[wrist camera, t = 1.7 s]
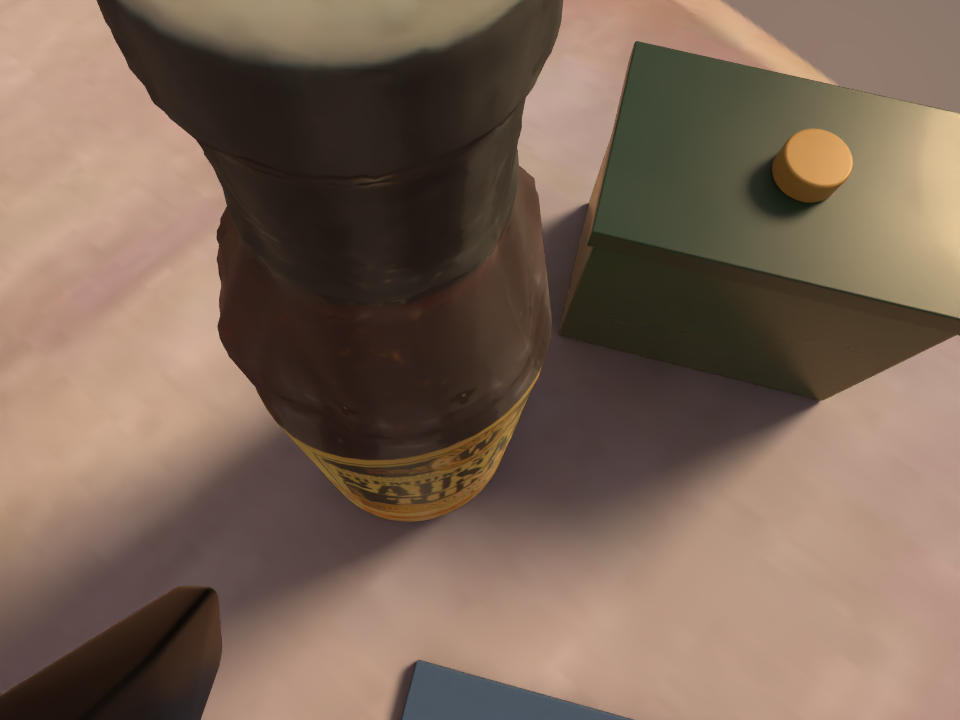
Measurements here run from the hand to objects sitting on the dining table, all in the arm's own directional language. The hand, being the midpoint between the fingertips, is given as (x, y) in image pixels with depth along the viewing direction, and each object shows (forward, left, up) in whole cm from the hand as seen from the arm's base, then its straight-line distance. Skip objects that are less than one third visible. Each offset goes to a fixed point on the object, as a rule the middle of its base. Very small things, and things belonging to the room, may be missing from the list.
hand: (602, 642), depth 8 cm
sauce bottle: (0, +6, -15) cm, 17 cm away
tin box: (+12, +7, -15) cm, 20 cm away
